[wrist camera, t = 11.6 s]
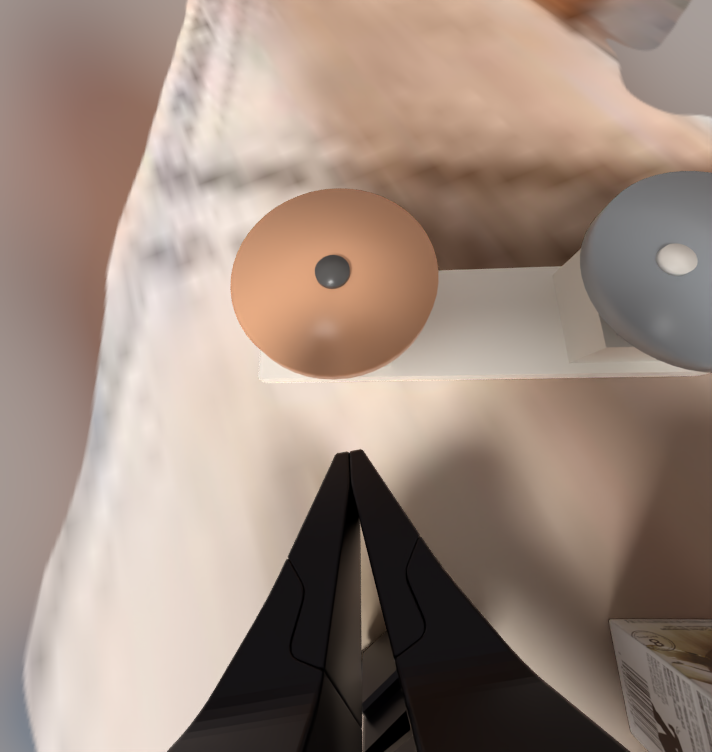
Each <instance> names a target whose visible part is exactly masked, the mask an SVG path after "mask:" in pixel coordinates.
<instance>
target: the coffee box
mask: <svg viewBox="0 0 712 752" xmlns="http://www.w3.org/2000/svg"><path fill="white" fill-rule="evenodd" d="M609 625H610V630H611V635H612V640H613V645H614V650H615V655H616V661H617V666H618V671H619V676H620V681H621V686H622V691H623V696H624V701H625V707H626V712H627V716H628V721H629V727H630V731H631V733H632V734H633V736H634V737H635V738H636V739H637V740H638V741H639V742H640V743H641V744H642V745H643V746H644V747H645V748H646V749H647V751H648V752H712V620H708V619H610V620H609Z"/></svg>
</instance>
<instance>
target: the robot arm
mask: <svg viewBox="0 0 712 752" xmlns="http://www.w3.org/2000/svg"><path fill="white" fill-rule="evenodd" d="M360 524H361V528H362V532H363V536H364V540H365V544H366V548H367V552H368V556H369V560H370V564H371V568H372V572H373V576H374V580H375V585H376V589H377V593H378V597H379V601H380V605H381V609H382V613H383V617H384V621H385V625H386V629H387V631H386V632H385V633H384V634H383V635H381V636H380V637H379V638H378V639H377V640H376V641H375V642H374V643H373V644H372V645H371V646H370V647H369V648H368V649H367V650H366V651H365V652H364V653H363V659H362V660H361V541H360ZM362 714H363V716H364V721H363V752H630V751H629V750H628V749H626V748H625V747H624V746H623V745H622V744H620V743H619V742H618V741H617V740H615V739H614V738H613V737H612V736H611V735H609V734H608V733H607V732H606V731H604V730H603V729H602V728H601V727H600V726H598V725H597V724H596V723H595V722H594V721H592V720H591V719H590V718H589V717H587V716H586V715H585V714H584V713H583V712H581V711H580V710H579V709H578V708H576V707H575V706H574V705H573V704H572V703H570V702H569V701H568V700H567V699H566V698H564V697H563V696H562V695H561V694H559V693H558V692H557V691H556V690H555V689H553V688H552V687H551V686H550V685H548V684H547V683H546V682H545V681H544V680H542V679H541V678H540V677H539V676H538V675H537V674H536V673H535V672H534V671H532V670H531V669H530V668H529V667H528V666H527V665H526V664H525V663H524V662H523V661H522V660H521V659H520V657H519V656H518V655H517V654H516V653H515V652H514V651H513V650H512V649H511V648H510V647H509V646H508V644H507V643H506V642H505V641H504V640H503V639H502V638H501V636H500V635H499V634H498V633H497V632H496V630H495V629H494V628H493V627H492V626H491V625H490V623H489V622H488V621H487V620H486V619H485V618H484V616H483V615H482V614H481V613H480V612H479V611H478V609H477V608H476V607H475V606H474V605H473V604H472V602H471V601H470V600H469V599H468V598H467V596H466V595H465V594H464V593H463V592H462V591H461V589H460V588H459V587H458V586H457V585H456V583H455V582H454V581H453V580H452V578H451V577H450V576H449V575H448V573H447V572H446V571H445V570H444V568H443V567H442V566H441V564H440V563H439V561H438V560H437V559H436V557H435V556H434V555H433V553H432V552H431V550H430V549H429V547H428V546H427V544H426V543H425V541H424V540H423V539H422V537H420V534H419V533H418V531H417V530H416V528H415V527H414V525H413V524H412V522H411V521H410V519H409V518H408V516H407V515H406V513H405V512H404V511H403V509H402V508H401V506H400V505H399V503H398V502H397V500H396V499H395V497H394V496H393V494H392V493H391V491H390V490H389V488H388V487H387V485H386V484H385V482H384V481H383V479H382V478H381V476H380V475H379V473H378V472H377V470H376V469H375V467H374V466H373V464H372V463H371V461H370V460H369V458H368V457H367V455H366V454H365V453H364V451H363V450H361V449H360V450H354V451H350V453H349V452H342V453H337V454H336V455H335V457H334V459H333V461H332V463H331V465H330V467H329V469H328V472H327V474H326V476H325V478H324V480H323V482H322V484H321V487H320V489H319V491H318V493H317V495H316V497H315V499H314V502H313V504H312V506H311V508H310V510H309V512H308V514H307V516H306V519H305V521H304V523H303V525H302V527H301V529H300V531H299V534H298V536H297V538H296V540H295V542H294V544H293V546H292V549H291V551H290V553H289V555H288V559H287V560H286V561H285V563H284V565H283V567H282V570H281V572H280V574H279V576H278V578H277V580H276V582H275V584H274V586H273V588H272V590H271V592H270V594H269V596H268V598H267V600H266V601H265V603H264V605H263V607H262V609H261V610H260V612H259V614H258V616H257V618H256V619H255V621H254V623H253V625H252V626H251V628H250V630H249V631H248V633H247V635H246V637H245V638H244V640H243V642H242V643H241V645H240V647H239V648H238V650H237V652H236V654H235V655H234V657H233V659H232V660H231V662H230V664H229V666H228V667H227V669H226V671H225V672H224V674H223V676H222V678H221V679H220V681H219V683H218V684H217V686H216V688H215V689H214V691H213V693H212V694H211V696H210V698H209V699H208V701H207V702H206V704H205V705H204V707H203V708H202V710H201V711H200V713H199V714H198V715H197V717H196V718H195V719H194V721H193V722H192V723H191V725H190V726H189V727H188V728H187V730H186V731H185V732H184V733H183V734H182V736H181V737H180V738H179V739H178V740H177V741H176V742H175V743H174V744H173V745H172V747H171V748H170V749H169V750H168V751H167V752H362V729H361V728H362Z"/></svg>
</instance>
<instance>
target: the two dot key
mask: <svg viewBox="0 0 712 752" xmlns="http://www.w3.org/2000/svg"><path fill="white" fill-rule="evenodd" d="M580 269H581V276H582V280H583V283H584V286H585V289H586V292H587V294H588V296H589V298H590V300H591V302H592V304H593V305H594V307H595V309H596V310H597V312H598V313H599V314H600V316H601V317H602V318H603V319H604V321H605V322H606V323H607V324H608V325H609V326H610V327H611V328H612V329H613V330H614V331H615V332H616V334H617V335H619V336H620V337H622V338H623V339H624V340H625V341H627V342H628V343H629V344H631V345H632V346H634V347H635V348H637V349H638V350H640V351H642V352H643V353H645V354H647V355H649V356H651V357H653V358H655V359H657V360H659V361H662V362H665V363H667V364H670V365H672V366H676V367H680V368H683V369H687V370H692V371H699V372H706V373H712V173H709V172H699V171H679V172H669V173H664V174H659V175H655V176H652V177H649V178H646V179H643V180H641V181H639V182H637V183H634V184H632V185H631V186H629V187H628V188H626V189H625V190H623V191H622V192H621V193H620V194H618V195H617V196H616V197H615V198H614V199H613V200H612V201H611V202H610V203H609V204H608V205H607V206H606V207H605V208H604V209H603V210H602V211H601V212H600V213H599V214H598V215H597V217H596V218H595V219H594V220H593V222H592V223H591V224H590V226H589V228H588V230H587V231H586V233H585V236H584V239H583V242H582V246H581V252H580Z"/></svg>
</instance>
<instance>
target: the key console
mask: <svg viewBox="0 0 712 752" xmlns="http://www.w3.org/2000/svg"><path fill="white" fill-rule="evenodd" d="M580 252H581V249H580V250H579V251H578V252H577V253H576V254H574V255H573V256H572V257H571V258H570V259H569V260H568V261H567V262H566V263H565V264H564V265H563V266H554V267H525V268H496V269H467V270H438V281H439V282H438V289H437V295H436V299H435V302H434V306H433V308H432V311H431V313H430V315H429V317H428V320H427V322H426V324H425V326H424V328H423V330H422V331H421V333H420V334H419V336H418V337H417V339H416V340H415V341H414V342H413V343H412V345H411V346H410V347H409V348H408V349H407V350H406V351H405V352H404V353H403V354H401V355H400V356H399V357H398V358H396V359H395V360H393V361H392V362H391V363H389V364H388V365H386V366H384V367H382V368H380V369H378V370H376V371H373V372H371V373H368V374H365V375H362V376H357V377H353V378H348V379H335V380H332V379H318V378H312V377H307V376H304V375H301V374H297V373H294V372H292V371H290V370H288V369H286V368H284V367H282V366H280V365H279V364H277V363H276V362H274V361H273V360H272V359H270V358H269V357H268V356H267V355H266V354H265V353H264V352H262V351H261V350H260V361H259V373H258V379H259V380H261V381H262V382H264V383H295V382H357V381H420V380H482V379H545V378H607V377H669V376H700V375H705V374H709V373H706V372H699V371H692V370H687V369H683V368H680V367H676V366H672V365H670V364H667V363H665V362H662V361H659V360H657V359H655V358H653V357H651V356H649V355H647V354H645V353H643V352H642V351H640V350H638V349H637V348H635V347H634V346H632V345H631V344H629V343H628V342H627V341H625V340H624V339H623V338H622V337H620V336H619V335H617V334H616V332H615V331H614V330H613V329H612V328H611V327H610V326H609V325H608V324H607V323H606V322H605V321H604V319H603V318H602V317H601V316H600V314H599V313H598V312H597V310H596V309H595V307H594V305H593V304H592V302H591V300H590V298H589V296H588V294H587V292H586V289H585V286H584V283H583V280H582V276H581V269H580Z"/></svg>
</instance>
